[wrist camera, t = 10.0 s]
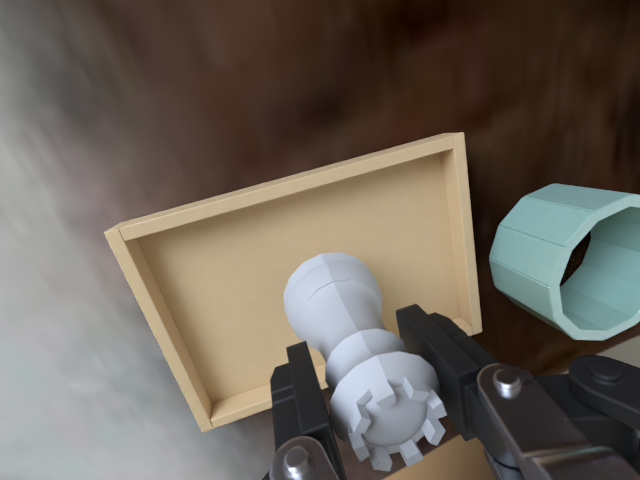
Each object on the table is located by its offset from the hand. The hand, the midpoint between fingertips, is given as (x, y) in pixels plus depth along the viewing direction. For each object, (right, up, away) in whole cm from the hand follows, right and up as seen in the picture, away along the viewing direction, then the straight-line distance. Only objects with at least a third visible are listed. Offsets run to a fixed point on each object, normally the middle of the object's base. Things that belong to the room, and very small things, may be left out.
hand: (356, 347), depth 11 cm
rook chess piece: (-1, +1, +4) cm, 5 cm away
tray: (-1, +2, +6) cm, 6 cm away
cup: (+13, +3, +9) cm, 15 cm away
